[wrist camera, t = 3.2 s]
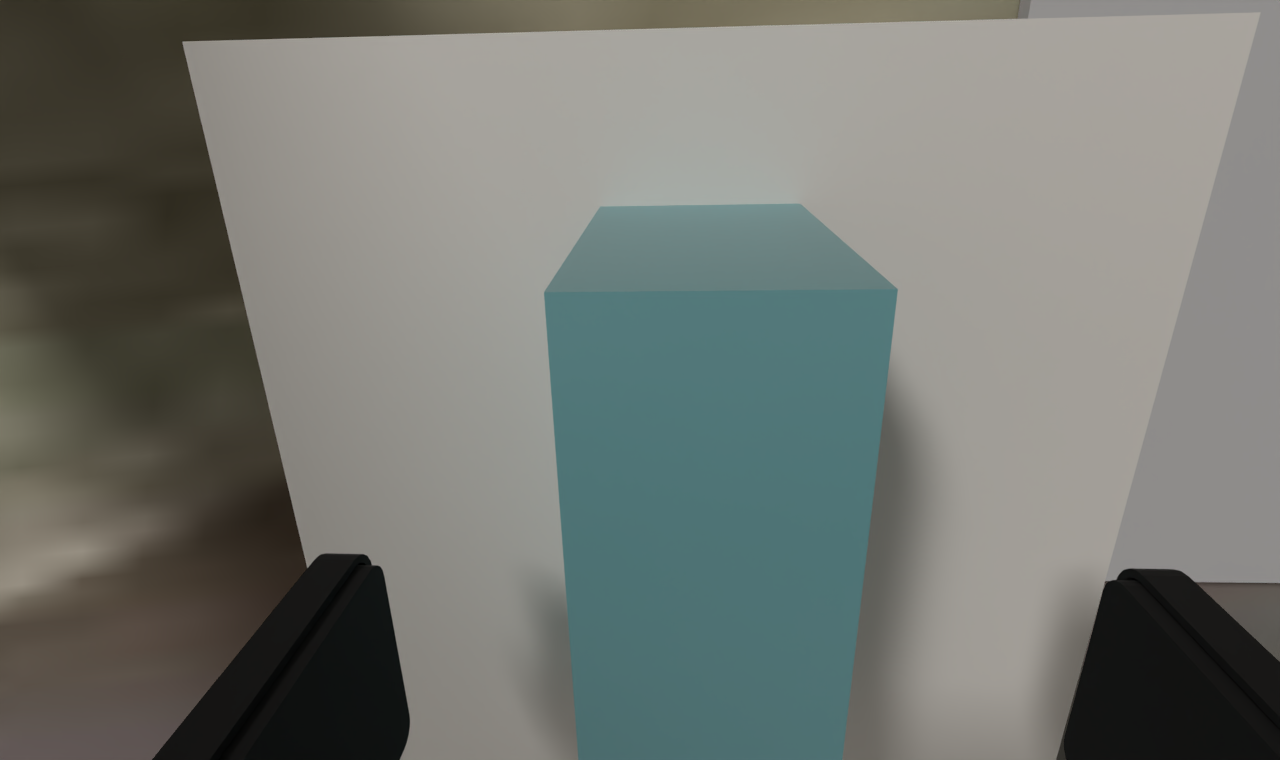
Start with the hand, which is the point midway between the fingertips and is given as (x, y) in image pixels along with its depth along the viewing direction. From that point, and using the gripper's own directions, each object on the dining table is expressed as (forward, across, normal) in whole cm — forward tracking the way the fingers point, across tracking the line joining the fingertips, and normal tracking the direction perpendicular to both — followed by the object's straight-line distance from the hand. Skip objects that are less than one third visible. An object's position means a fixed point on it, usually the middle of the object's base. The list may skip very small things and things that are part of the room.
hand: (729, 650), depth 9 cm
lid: (+6, 0, 0) cm, 6 cm away
